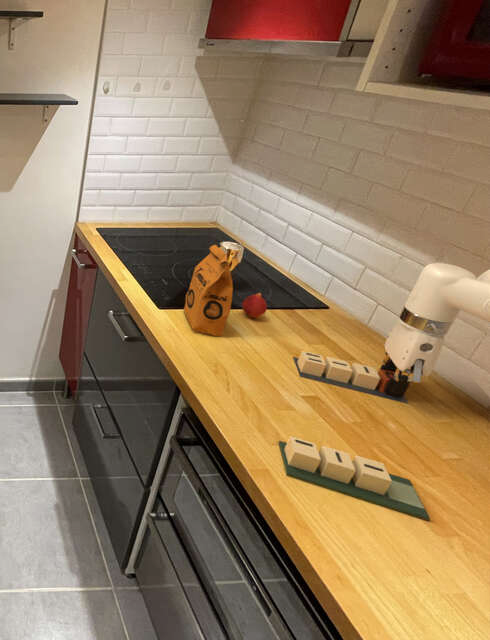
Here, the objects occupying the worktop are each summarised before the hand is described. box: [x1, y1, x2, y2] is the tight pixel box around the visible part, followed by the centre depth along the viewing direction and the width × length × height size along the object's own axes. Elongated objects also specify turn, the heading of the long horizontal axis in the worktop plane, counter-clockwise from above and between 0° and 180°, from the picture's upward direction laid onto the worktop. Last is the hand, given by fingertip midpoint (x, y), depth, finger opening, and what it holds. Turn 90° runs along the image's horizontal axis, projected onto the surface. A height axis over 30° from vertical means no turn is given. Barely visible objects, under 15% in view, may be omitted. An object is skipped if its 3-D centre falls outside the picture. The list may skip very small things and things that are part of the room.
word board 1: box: [292, 350, 410, 405], centre depth 104 cm, size 20×8×4 cm, turn 65°
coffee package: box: [183, 244, 234, 337], centre depth 120 cm, size 10×12×22 cm
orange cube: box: [377, 368, 410, 397], centre depth 101 cm, size 4×4×4 cm
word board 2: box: [277, 435, 431, 522], centre depth 80 cm, size 20×8×4 cm, turn 65°
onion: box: [241, 292, 268, 319], centre depth 127 cm, size 6×6×8 cm
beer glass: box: [218, 240, 245, 279], centre depth 140 cm, size 7×7×15 cm
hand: (388, 386), depth 101 cm, fingers closed on orange cube, 4 cm apart
